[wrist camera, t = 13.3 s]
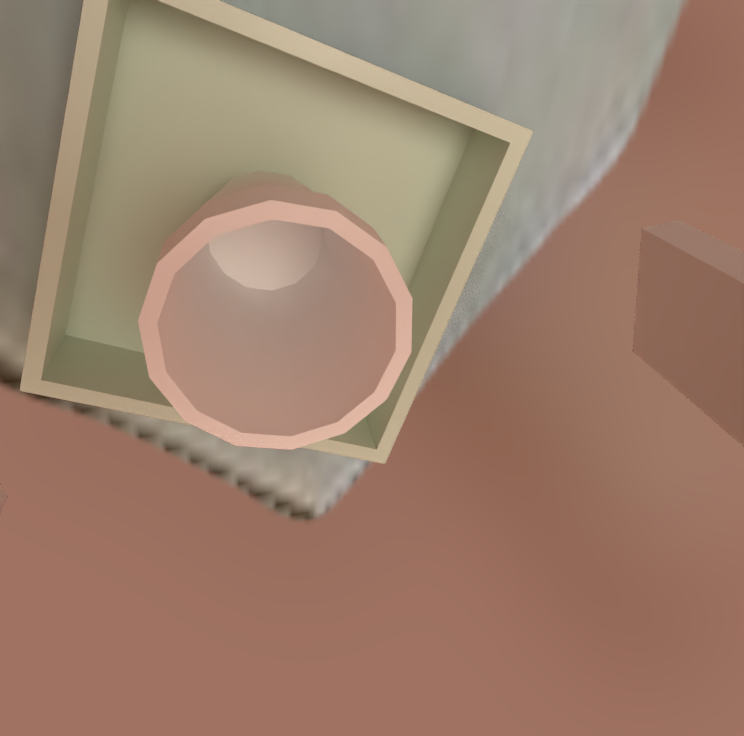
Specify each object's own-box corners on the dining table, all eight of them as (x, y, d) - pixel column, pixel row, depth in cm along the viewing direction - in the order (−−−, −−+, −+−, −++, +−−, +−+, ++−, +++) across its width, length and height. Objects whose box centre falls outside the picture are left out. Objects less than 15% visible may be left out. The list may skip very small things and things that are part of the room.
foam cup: (159, 140, 31) (115, 208, 19) (351, 133, 32) (414, 192, 21) (188, 322, 35) (166, 464, 24) (355, 308, 36) (409, 435, 25)
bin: (51, 336, 35) (19, 390, 30) (118, -39, 28) (92, -53, 23) (365, 407, 41) (384, 463, 36) (487, 115, 34) (533, 131, 29)
